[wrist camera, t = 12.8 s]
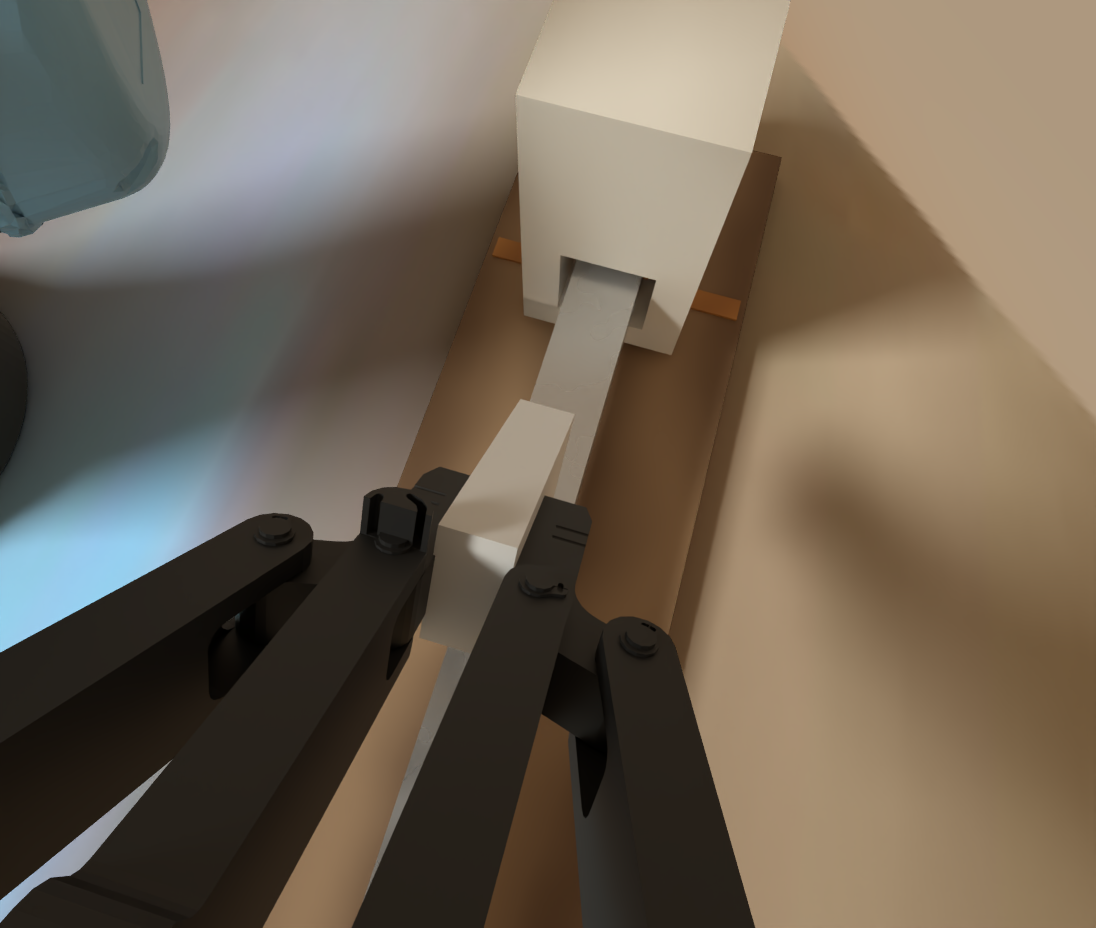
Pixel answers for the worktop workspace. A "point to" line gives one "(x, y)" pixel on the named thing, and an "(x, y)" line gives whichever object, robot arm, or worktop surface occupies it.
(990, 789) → the worktop surface
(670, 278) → the sleeve
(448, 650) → the steel rod
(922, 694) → the worktop surface
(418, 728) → the walnut board
